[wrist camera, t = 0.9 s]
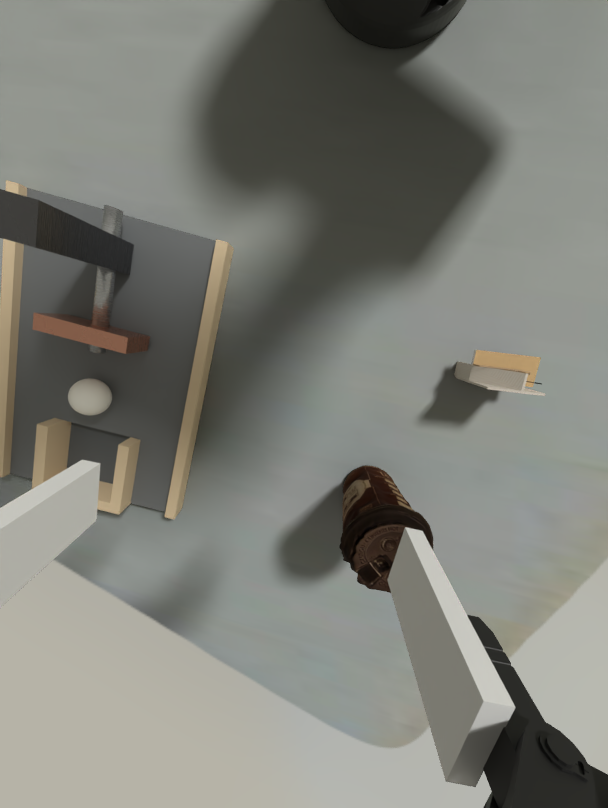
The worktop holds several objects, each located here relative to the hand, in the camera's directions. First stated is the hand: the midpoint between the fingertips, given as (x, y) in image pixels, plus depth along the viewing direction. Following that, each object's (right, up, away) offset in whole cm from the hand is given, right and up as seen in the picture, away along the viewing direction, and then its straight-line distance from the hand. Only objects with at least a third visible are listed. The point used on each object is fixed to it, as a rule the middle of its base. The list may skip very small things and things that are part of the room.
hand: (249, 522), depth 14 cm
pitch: (-20, +9, +24) cm, 33 cm away
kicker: (-18, +17, +20) cm, 32 cm away
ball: (-21, +6, +21) cm, 30 cm away
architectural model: (+23, +9, +24) cm, 34 cm away
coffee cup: (+10, -5, +27) cm, 30 cm away
